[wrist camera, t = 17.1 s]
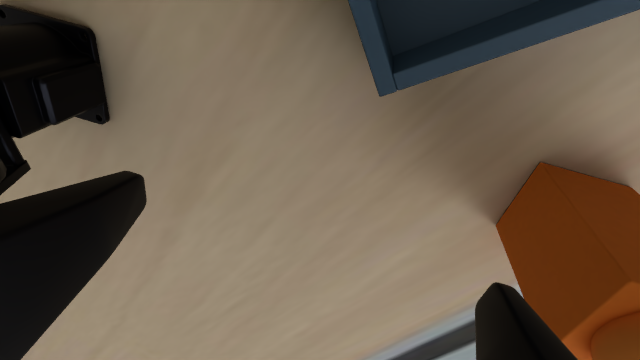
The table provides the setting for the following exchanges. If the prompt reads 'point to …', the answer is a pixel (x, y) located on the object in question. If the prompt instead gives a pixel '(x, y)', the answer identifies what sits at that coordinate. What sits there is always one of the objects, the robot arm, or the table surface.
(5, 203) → the robot arm
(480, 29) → the tray
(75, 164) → the table surface
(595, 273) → the toy bear
